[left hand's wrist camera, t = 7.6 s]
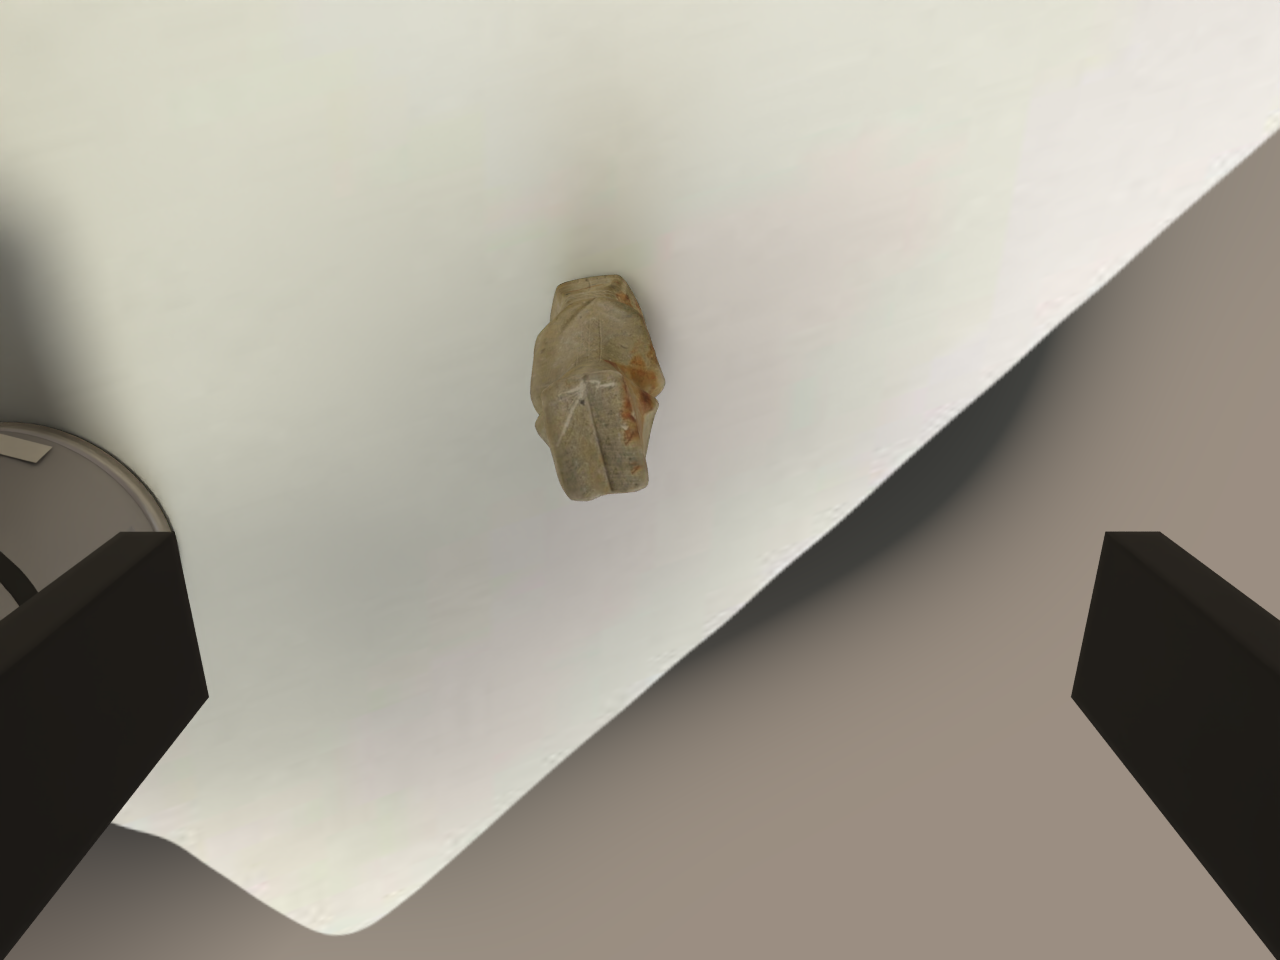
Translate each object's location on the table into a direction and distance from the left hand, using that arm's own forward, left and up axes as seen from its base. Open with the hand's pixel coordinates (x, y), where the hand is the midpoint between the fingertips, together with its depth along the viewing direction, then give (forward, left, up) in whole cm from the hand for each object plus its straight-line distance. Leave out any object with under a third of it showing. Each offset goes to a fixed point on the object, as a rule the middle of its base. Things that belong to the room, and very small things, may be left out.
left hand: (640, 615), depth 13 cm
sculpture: (-4, -1, -35) cm, 35 cm away
